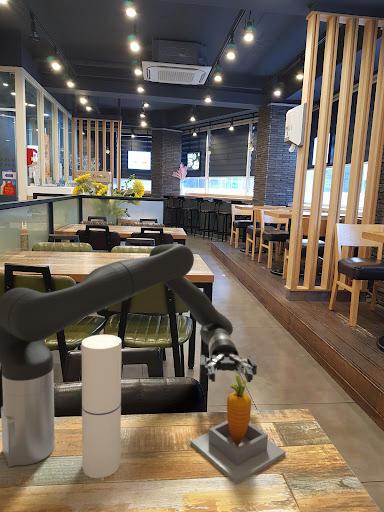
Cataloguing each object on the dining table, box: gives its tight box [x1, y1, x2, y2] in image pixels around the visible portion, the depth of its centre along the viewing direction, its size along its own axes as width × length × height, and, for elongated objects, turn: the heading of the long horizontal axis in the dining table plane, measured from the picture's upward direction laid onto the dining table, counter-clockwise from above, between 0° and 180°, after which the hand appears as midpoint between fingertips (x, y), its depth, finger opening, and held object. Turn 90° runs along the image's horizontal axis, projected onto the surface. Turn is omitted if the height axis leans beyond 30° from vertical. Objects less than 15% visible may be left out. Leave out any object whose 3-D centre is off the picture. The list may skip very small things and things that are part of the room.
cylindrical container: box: [81, 334, 122, 479], centre depth 70 cm, size 7×7×25 cm
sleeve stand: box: [190, 420, 287, 485], centre depth 77 cm, size 14×14×4 cm
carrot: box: [226, 374, 252, 446], centre depth 77 cm, size 5×5×15 cm
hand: (231, 378), depth 87 cm, fingers open, 8 cm apart
